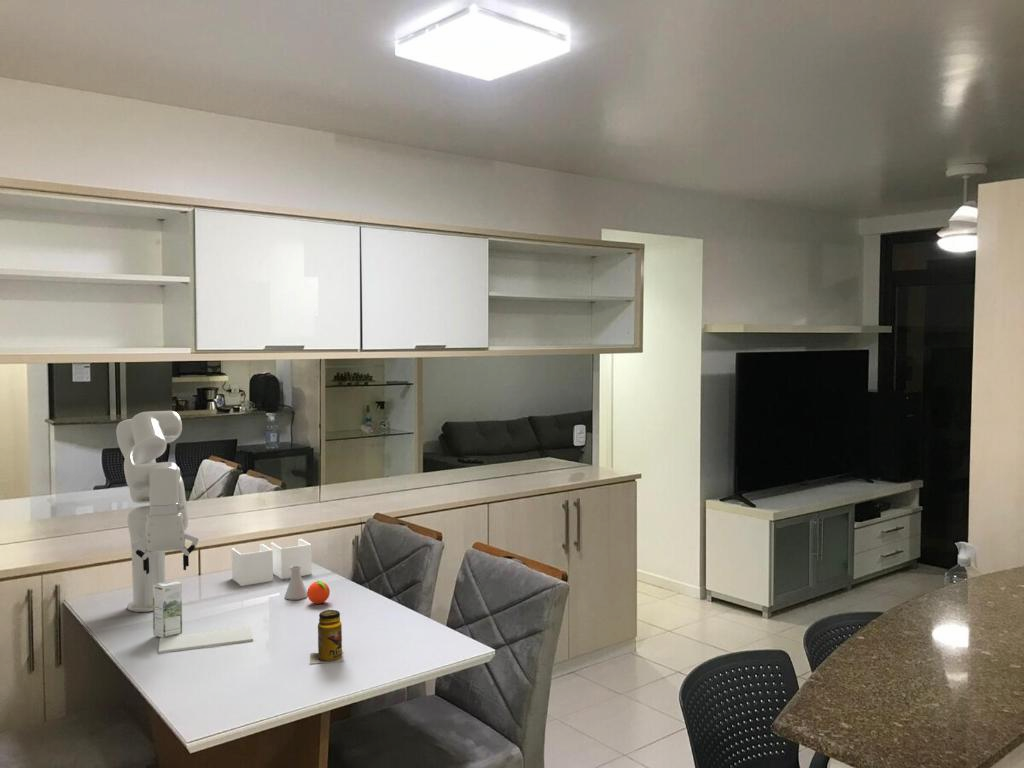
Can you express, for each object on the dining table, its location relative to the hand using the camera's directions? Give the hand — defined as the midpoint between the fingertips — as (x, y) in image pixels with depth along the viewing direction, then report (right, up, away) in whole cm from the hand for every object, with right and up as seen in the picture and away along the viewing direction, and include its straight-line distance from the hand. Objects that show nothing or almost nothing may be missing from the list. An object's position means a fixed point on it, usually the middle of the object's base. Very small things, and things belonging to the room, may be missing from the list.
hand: (166, 570), depth 235 cm
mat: (+12, -19, -3) cm, 22 cm away
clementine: (+36, -17, +30) cm, 50 cm away
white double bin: (+12, -16, +62) cm, 66 cm away
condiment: (+49, -19, -17) cm, 55 cm away
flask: (+27, -17, +37) cm, 49 cm away
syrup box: (0, -18, +1) cm, 18 cm away
